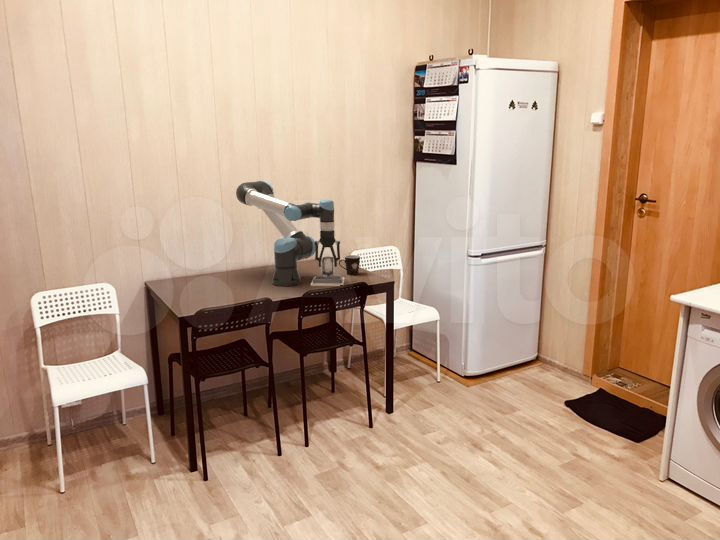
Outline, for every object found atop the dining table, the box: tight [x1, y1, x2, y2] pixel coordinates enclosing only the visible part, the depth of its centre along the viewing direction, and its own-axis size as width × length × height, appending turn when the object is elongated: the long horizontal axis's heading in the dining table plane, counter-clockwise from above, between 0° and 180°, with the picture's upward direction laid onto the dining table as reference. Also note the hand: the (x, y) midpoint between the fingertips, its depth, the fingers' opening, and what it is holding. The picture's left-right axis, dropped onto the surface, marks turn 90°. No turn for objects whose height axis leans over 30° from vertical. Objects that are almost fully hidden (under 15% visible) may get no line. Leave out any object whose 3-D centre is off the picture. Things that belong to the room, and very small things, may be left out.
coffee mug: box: [338, 254, 361, 276], centre depth 324 cm, size 12×9×10 cm
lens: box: [322, 256, 334, 277], centre depth 304 cm, size 6×6×10 cm
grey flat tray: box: [310, 275, 345, 287], centre depth 306 cm, size 17×16×2 cm
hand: (328, 272), depth 305 cm, fingers closed on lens, 6 cm apart
